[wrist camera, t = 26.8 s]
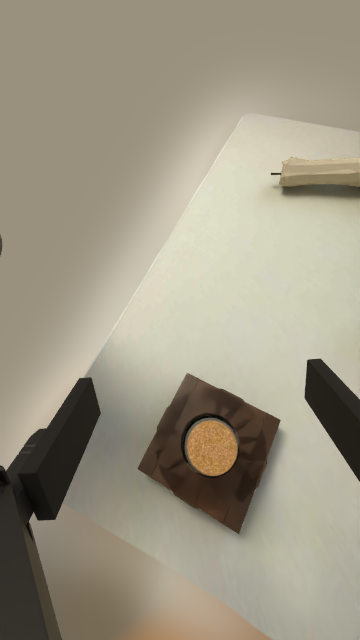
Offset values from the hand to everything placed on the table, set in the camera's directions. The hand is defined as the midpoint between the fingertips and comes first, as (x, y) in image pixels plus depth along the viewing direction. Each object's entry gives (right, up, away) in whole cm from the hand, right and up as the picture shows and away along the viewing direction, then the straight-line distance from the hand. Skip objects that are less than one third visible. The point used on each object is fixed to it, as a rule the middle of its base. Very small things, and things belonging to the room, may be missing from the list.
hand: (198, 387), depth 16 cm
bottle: (+3, -14, +22) cm, 27 cm away
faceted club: (+30, +33, +41) cm, 60 cm away
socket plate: (+3, -14, +22) cm, 26 cm away
